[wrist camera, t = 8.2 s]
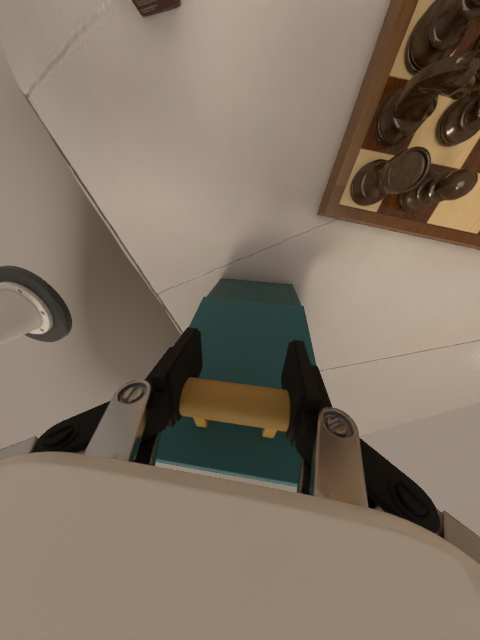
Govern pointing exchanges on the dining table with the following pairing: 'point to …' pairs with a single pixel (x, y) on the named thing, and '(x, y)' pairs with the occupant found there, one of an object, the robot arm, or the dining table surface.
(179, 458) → the lid
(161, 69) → the dining table surface
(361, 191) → the chess set
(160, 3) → the box
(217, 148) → the dining table surface
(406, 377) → the dining table surface
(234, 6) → the dining table surface
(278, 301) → the chest
